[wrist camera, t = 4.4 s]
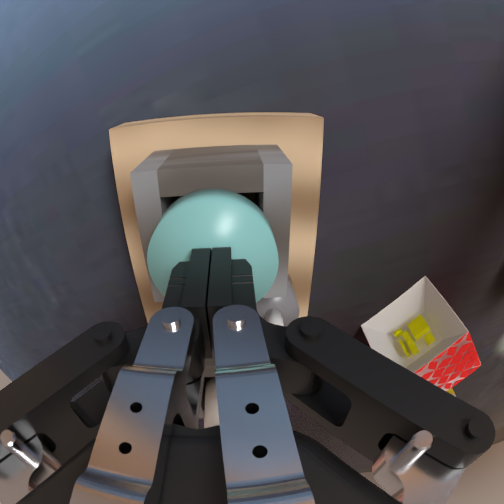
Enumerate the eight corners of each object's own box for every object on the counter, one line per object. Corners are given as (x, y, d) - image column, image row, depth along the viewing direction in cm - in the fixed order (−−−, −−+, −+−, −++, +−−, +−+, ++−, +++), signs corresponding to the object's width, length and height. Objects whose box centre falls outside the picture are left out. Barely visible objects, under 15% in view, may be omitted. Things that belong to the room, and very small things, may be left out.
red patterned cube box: (425, 274, 26) (468, 331, 19) (446, 314, 29) (481, 365, 22) (359, 325, 28) (387, 390, 21) (390, 356, 31) (416, 411, 24)
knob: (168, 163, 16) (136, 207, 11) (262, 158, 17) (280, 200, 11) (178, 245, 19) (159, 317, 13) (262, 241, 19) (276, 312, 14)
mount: (125, 122, 18) (72, 145, 11) (310, 113, 18) (354, 129, 12) (171, 360, 29) (162, 425, 22) (292, 355, 29) (306, 420, 23)
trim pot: (243, 266, 20) (247, 318, 16) (292, 264, 20) (308, 314, 16) (245, 304, 22) (249, 358, 17) (290, 302, 22) (303, 354, 18)
